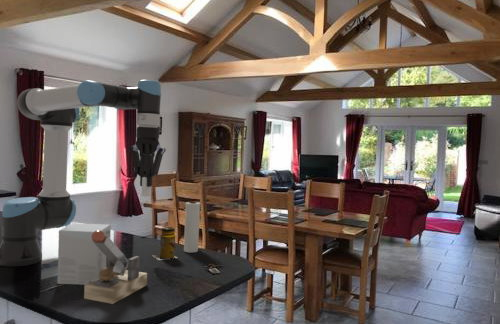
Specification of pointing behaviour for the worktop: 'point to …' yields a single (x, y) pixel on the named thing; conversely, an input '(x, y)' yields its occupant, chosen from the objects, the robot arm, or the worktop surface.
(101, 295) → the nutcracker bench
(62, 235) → the supplement box
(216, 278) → the worktop surface
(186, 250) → the paper towel roll
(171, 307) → the worktop surface
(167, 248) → the condiment
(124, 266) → the lever
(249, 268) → the worktop surface
